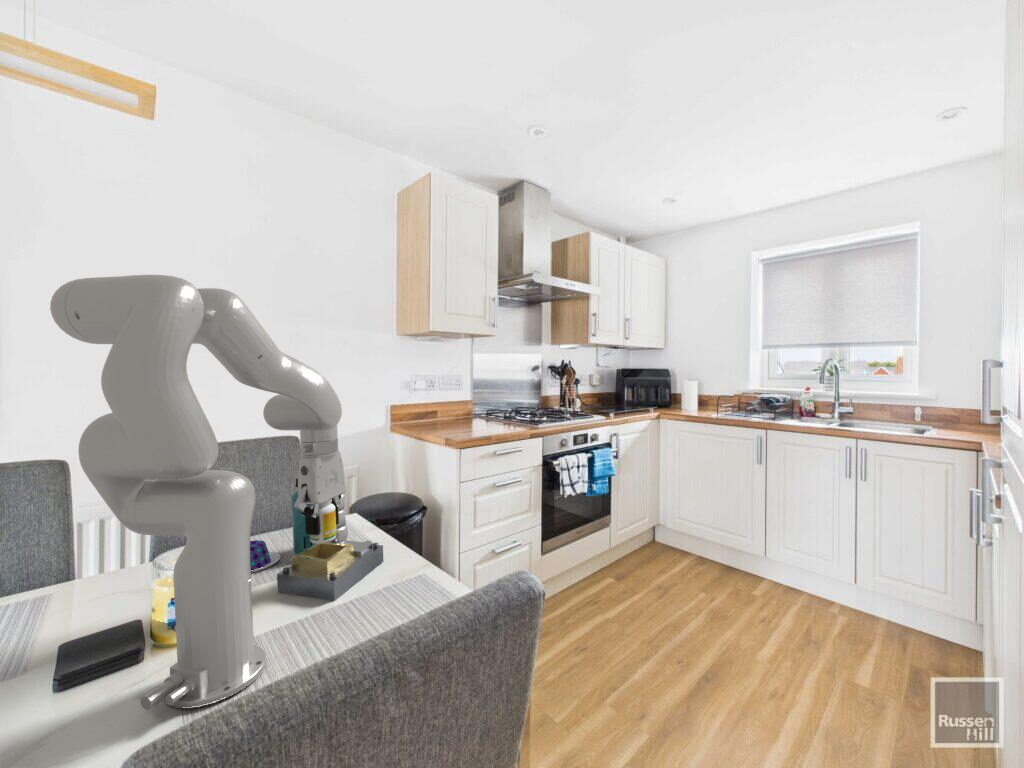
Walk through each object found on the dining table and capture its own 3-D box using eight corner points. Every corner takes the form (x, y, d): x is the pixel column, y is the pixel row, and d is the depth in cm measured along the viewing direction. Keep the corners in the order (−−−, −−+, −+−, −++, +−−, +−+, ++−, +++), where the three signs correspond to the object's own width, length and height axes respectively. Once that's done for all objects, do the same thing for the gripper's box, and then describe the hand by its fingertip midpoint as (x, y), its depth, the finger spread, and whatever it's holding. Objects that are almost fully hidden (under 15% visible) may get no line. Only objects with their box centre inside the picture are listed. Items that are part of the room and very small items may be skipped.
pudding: (247, 554, 111) (247, 534, 111) (290, 555, 110) (290, 535, 109) (209, 576, 99) (208, 553, 99) (257, 578, 98) (256, 555, 98)
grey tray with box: (334, 600, 87) (333, 568, 86) (277, 592, 90) (276, 562, 90) (390, 556, 107) (389, 530, 107) (341, 551, 111) (340, 526, 110)
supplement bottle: (307, 545, 92) (305, 501, 92) (312, 536, 97) (311, 494, 97) (334, 542, 93) (332, 499, 93) (338, 533, 99) (336, 492, 98)
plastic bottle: (353, 541, 117) (350, 468, 116) (331, 550, 111) (328, 474, 111) (338, 537, 120) (336, 466, 120) (316, 545, 115) (313, 471, 114)
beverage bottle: (301, 563, 104) (298, 481, 103) (288, 557, 108) (285, 478, 107) (326, 554, 109) (323, 476, 108) (313, 548, 113) (310, 472, 112)
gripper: (305, 456, 85) (309, 546, 86) (358, 441, 102) (360, 517, 103) (274, 455, 87) (278, 543, 88) (330, 440, 104) (333, 514, 104)
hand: (322, 528), depth 95 cm, fingers closed on supplement bottle, 5 cm apart
